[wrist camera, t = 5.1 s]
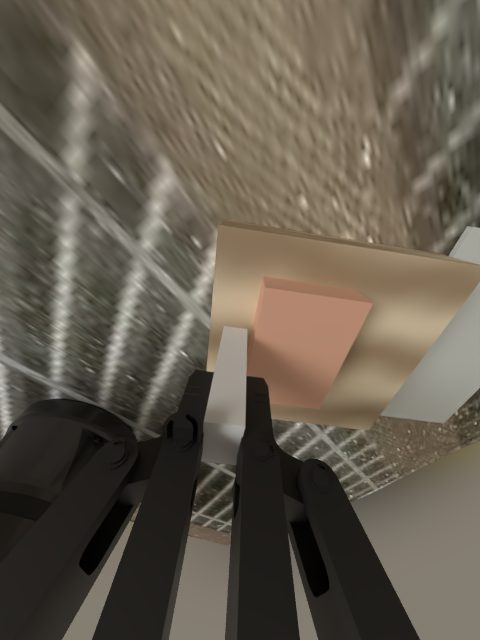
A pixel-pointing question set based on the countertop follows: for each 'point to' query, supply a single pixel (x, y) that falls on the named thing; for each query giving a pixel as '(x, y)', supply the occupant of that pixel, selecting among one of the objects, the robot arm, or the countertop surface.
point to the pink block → (302, 338)
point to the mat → (446, 357)
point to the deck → (351, 273)
